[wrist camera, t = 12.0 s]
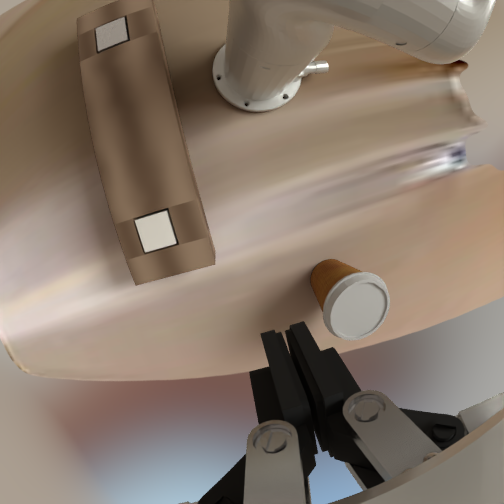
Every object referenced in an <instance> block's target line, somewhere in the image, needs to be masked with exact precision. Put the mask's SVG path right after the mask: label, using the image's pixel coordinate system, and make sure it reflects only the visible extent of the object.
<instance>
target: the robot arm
mask: <svg viewBox="0 0 504 504" xmlns="http://www.w3.org/2000/svg"><path fill="white" fill-rule="evenodd" d="M495 1H496V0H230V4H229V16H228V27H227V37H226V44H225V45H224V46H223V47H222V48H221V49H220V50H219V51H218V53H217V54H216V56H215V59H214V62H213V68H212V75H213V80H214V84H215V86H216V88H217V90H218V92H219V93H220V94H221V96H222V97H223V98H224V99H225V100H226V101H228V102H229V103H231V104H232V105H234V106H236V107H238V108H240V109H243V110H247V111H251V112H266V111H271V110H274V109H277V108H279V107H281V106H283V105H285V104H286V103H287V102H289V101H290V100H291V99H292V98H293V97H294V95H295V94H296V93H297V91H298V89H299V87H300V84H301V79H302V77H305V76H307V75H308V74H309V73H315V74H318V73H327V72H328V64H327V62H326V61H313V60H314V59H315V58H316V57H317V56H318V55H319V54H320V52H321V51H322V50H323V49H324V48H325V47H326V46H327V44H328V43H329V41H330V39H331V36H332V34H333V29H334V25H335V26H338V27H341V28H344V29H347V30H352V31H355V32H357V33H360V34H363V35H365V36H368V37H370V38H373V39H375V40H378V41H380V42H382V43H385V44H387V45H389V46H391V47H394V48H396V49H398V50H401V51H403V52H405V53H407V54H409V55H411V56H413V57H416V58H418V59H420V60H423V61H426V62H429V63H434V64H447V63H452V62H454V61H457V60H459V59H461V58H462V57H463V56H465V55H466V54H467V53H468V52H469V51H470V50H471V49H472V48H473V47H474V46H475V44H476V43H477V42H478V40H479V39H480V37H481V35H482V33H483V31H484V30H485V27H486V25H487V23H488V20H489V18H490V15H491V13H492V10H493V7H494V4H495ZM312 61H313V62H312ZM217 78H221V79H220V80H217ZM283 97H285V98H286V99H283ZM245 103H247V104H248V106H245V105H244V104H245ZM285 333H286V337H287V342H288V346H289V351H290V353H289V351H288V348H287V346H286V343H285V341H284V338H283V336H282V333H281V332H279V333H275V330H272V331H268V332H265V333H261V338H262V341H263V345H264V349H265V352H266V356H267V359H268V363H269V367H265V368H262V369H258V370H254V371H250V372H249V373H250V379H251V385H252V390H253V396H254V401H255V406H256V412H257V416H258V422H259V425H258V426H257V427H255V428H254V429H253V430H252V431H251V433H250V434H249V436H248V439H247V450H246V454H245V455H244V456H243V457H242V458H241V459H240V460H239V461H238V462H237V464H236V465H235V466H234V467H233V468H232V469H231V470H230V471H229V472H228V473H227V474H226V475H225V476H224V477H223V478H222V479H221V480H220V481H218V482H217V484H215V485H214V486H213V487H212V488H211V489H210V490H209V491H208V492H207V493H206V494H205V495H204V496H203V497H202V498H201V499H200V500H199V501H198V502H194V503H189V502H185V503H180V504H311V495H310V486H309V478H308V476H309V475H310V473H311V472H312V470H313V469H314V467H315V466H316V462H315V456H314V455H315V454H317V453H318V451H317V445H316V439H315V434H316V437H317V439H318V442H319V445H320V447H321V450H322V451H323V452H324V451H327V450H328V452H329V455H330V457H333V456H334V458H335V459H336V460H340V461H343V462H345V464H346V467H347V468H348V470H349V471H350V473H351V474H352V475H353V477H354V478H355V480H356V481H357V483H358V484H359V485H360V487H361V488H362V490H363V491H362V492H360V493H357V494H355V495H352V496H349V497H346V498H344V499H341V500H338V501H335V502H332V503H329V504H504V392H503V393H500V394H498V395H496V396H494V397H492V398H490V399H487V400H485V401H483V402H481V403H479V404H476V405H474V406H472V407H469V408H467V409H465V410H462V411H460V412H459V413H458V415H456V416H451V415H447V414H437V413H430V412H422V411H415V410H407V409H402V408H398V407H397V406H396V405H395V404H394V403H393V402H392V401H391V400H390V399H389V398H388V397H387V396H386V395H384V394H383V393H381V392H378V391H374V390H367V391H361V389H360V388H359V386H358V385H357V383H356V382H355V380H354V378H353V377H352V375H351V373H350V372H349V370H348V369H347V367H346V365H345V364H344V362H343V361H342V359H341V358H340V356H339V354H338V353H337V351H336V350H335V349H334V348H333V347H332V348H329V349H326V350H323V351H320V349H319V347H318V346H317V344H316V342H315V340H314V338H313V337H312V335H311V333H310V331H309V329H308V328H307V326H306V324H305V322H304V321H303V322H300V323H296V324H293V325H290V329H289V330H286V331H285ZM290 355H291V356H290ZM314 431H315V433H314Z"/></svg>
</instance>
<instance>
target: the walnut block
mask: <svg viewBox="0 0 504 504" xmlns="http://www.w3.org/2000/svg"><path fill="white" fill-rule="evenodd" d="M123 17H125V19H126V20H127V22H128V29H129V36H130V41H128V42H125V43H123V44H120V45H118V46H115V47H113V48H110V49H108V50H105V51H103V52H101V53H100V52H98V46H97V36H96V28H98V27H100V26H103V25H105V24H107V23H110V22H112V21H115V20H117V19H120V18H123ZM77 34H78V48H79V59H80V69H81V77H82V85H83V92H84V98H85V105H86V111H87V116H88V122H89V127H90V132H91V137H92V142H93V147H94V151H95V156H96V160H97V164H98V168H99V172H100V176H101V180H102V184H103V188H104V191H105V195H106V199H107V202H108V206H109V209H110V212H111V216H112V219H113V222H114V225H115V228H116V232H117V235H118V238H119V241H120V244H121V247H122V250H123V253H124V255H125V258H126V261H127V264H128V267H129V269H130V272H131V275H132V277H133V280H134V283H135V285H139V284H143V283H147V282H151V281H155V280H158V279H162V278H166V277H170V276H173V275H177V274H181V273H185V272H189V271H192V270H196V269H200V268H204V267H207V266H211V265H215V248H214V245H213V241H212V238H211V234H210V231H209V227H208V224H207V220H206V216H205V213H204V209H203V205H202V202H201V198H200V194H199V191H198V187H197V183H196V179H195V176H194V172H193V168H192V164H191V160H190V156H189V152H188V148H187V144H186V140H185V136H184V132H183V128H182V124H181V120H180V116H179V112H178V107H177V103H176V99H175V95H174V90H173V86H172V81H171V77H170V73H169V68H168V63H167V59H166V54H165V49H164V45H163V40H162V35H161V30H160V25H159V20H158V15H157V10H156V7H155V4H154V1H153V0H118V1H115V2H113V3H110V4H108V5H105V6H103V7H101V8H98V9H96V10H94V11H92V12H89V13H87V14H85V15H83V16H81V17H79V18H77ZM165 208H168V209H169V212H170V216H171V219H172V222H173V226H174V229H175V232H176V236H177V239H178V241H177V243H176V244H173V245H170V246H166V247H163V248H159V249H156V250H152V251H149V252H145V251H144V248H143V245H142V242H141V239H140V235H139V232H138V229H137V226H136V223H135V220H136V219H138V218H139V217H141V216H143V215H146V214H149V213H152V212H155V211H159V210H162V209H165Z"/></svg>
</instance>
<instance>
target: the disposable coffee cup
mask: <svg viewBox="0 0 504 504" xmlns="http://www.w3.org/2000/svg"><path fill="white" fill-rule="evenodd" d="M311 286H312V289H313V291H314V293H315V295H316V297H317V300H318V302H319V304H320V307H321V309H322V312H323V319H324V323H325V326H326V327H327V329H328V330H329V332H331V333H332V334H333V335H334V336H337V337H339V338H343V339H345V340H359V339H362V338H365V337H367V336H369V335H370V334H372V333H373V332H375V331H376V330H377V329H378V328H379V327H380V325H381V324H382V323H383V321H384V320H385V318H386V316H387V314H388V311H389V306H390V297H389V294H388V291H387V287H386V285H385V283H384V281H383V280H382V279H381V278H380V277H378V276H377V275H375V274H372V273H369V272H362V271H360V270H357V269H355V268H353V267H351V266H349V265H346V264H344V263H342V262H340V261H338V260H335V259H328V260H325V261H322V262H321V263H319V264H318V265H317V266H316V267H315V268H314V270H313V272H312V274H311Z"/></svg>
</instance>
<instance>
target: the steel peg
mask: <svg viewBox="0 0 504 504" xmlns="http://www.w3.org/2000/svg"><path fill="white" fill-rule="evenodd" d="M96 36H97V46H98V52H100V53H101V52H103V51H105V50H108V49H110V48H113V47H115V46H118V45H120V44H123V43H125V42H128V41H130V36H129V29H128V22H127V20H126V19H125V17H123V18H120V19H117V20H115V21H112V22H110V23H107V24H105V25H103V26H100V27H98V28H96Z"/></svg>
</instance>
